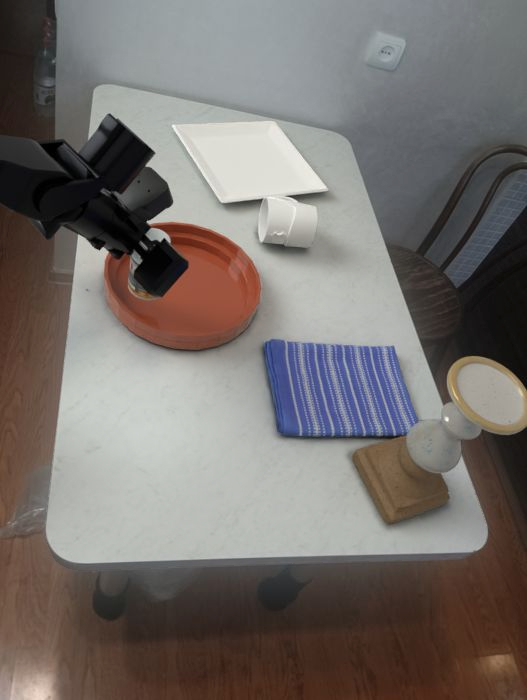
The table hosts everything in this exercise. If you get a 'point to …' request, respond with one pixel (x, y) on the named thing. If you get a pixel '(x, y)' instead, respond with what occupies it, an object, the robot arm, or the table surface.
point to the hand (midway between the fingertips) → (159, 253)
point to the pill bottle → (135, 261)
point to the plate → (248, 160)
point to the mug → (287, 222)
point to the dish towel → (338, 390)
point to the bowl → (190, 292)
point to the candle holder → (441, 439)
